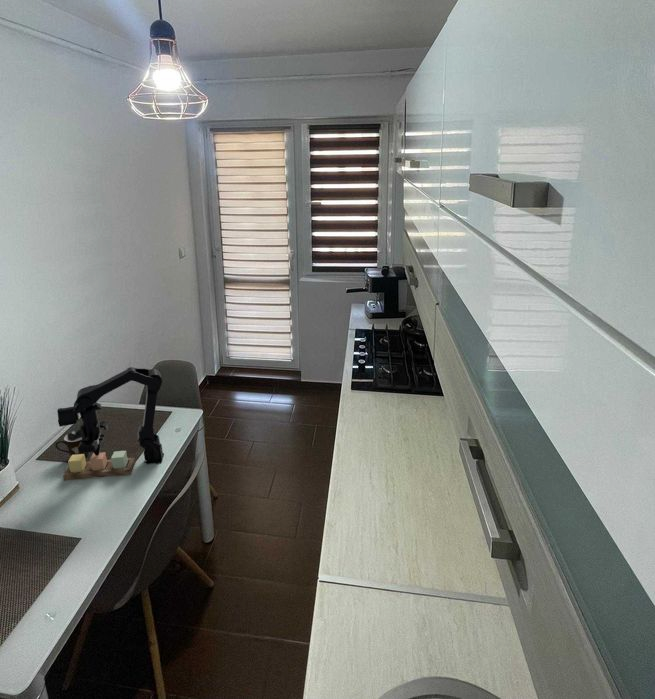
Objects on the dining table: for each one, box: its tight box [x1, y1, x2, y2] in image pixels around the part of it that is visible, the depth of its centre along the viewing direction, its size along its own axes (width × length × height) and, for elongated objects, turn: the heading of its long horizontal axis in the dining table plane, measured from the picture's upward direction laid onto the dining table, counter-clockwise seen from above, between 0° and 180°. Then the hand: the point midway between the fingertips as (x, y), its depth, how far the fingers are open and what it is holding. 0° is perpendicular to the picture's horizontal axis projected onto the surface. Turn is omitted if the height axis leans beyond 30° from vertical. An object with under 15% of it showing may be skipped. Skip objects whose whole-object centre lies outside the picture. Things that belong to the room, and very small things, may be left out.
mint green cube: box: [110, 450, 129, 469], centre depth 196 cm, size 5×5×5 cm
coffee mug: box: [55, 433, 90, 459], centre depth 204 cm, size 12×9×10 cm
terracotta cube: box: [89, 451, 108, 471], centre depth 195 cm, size 5×5×5 cm
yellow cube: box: [67, 454, 87, 472], centre depth 194 cm, size 5×5×5 cm
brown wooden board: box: [62, 457, 137, 482], centre depth 196 cm, size 25×9×2 cm, turn 98°
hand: (97, 455), depth 194 cm, fingers closed
